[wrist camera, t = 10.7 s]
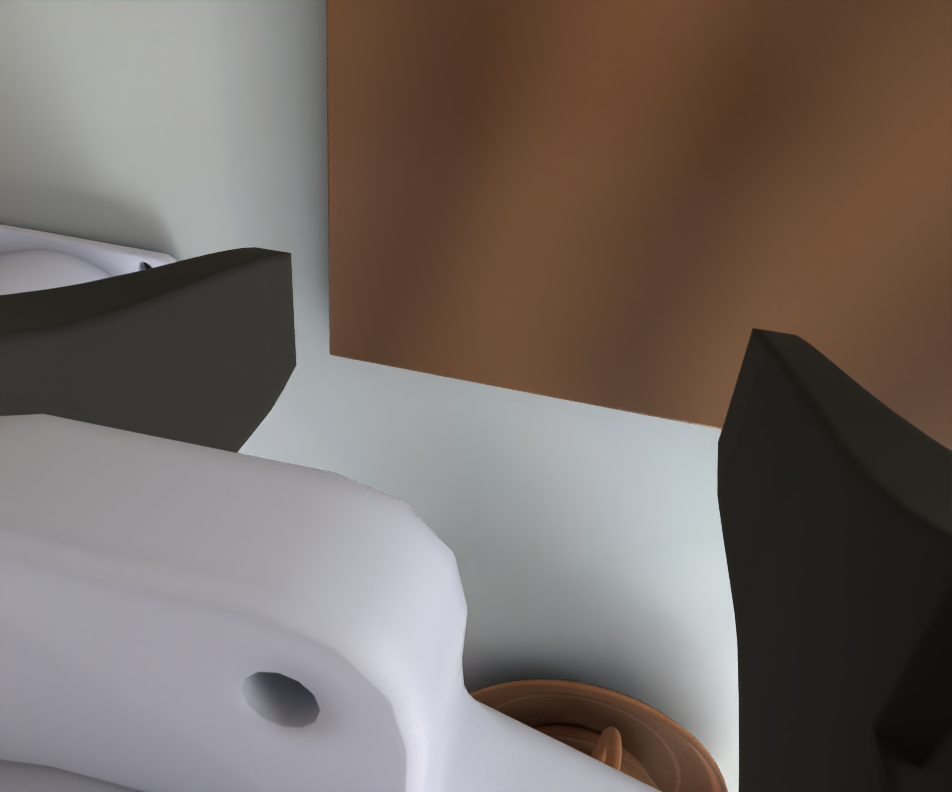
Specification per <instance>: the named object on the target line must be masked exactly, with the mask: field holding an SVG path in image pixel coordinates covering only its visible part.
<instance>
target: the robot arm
mask: <svg viewBox="0 0 952 792" xmlns="http://www.w3.org/2000/svg"><path fill="white" fill-rule="evenodd" d="M145 263H148V264H149V265H150V266H151V267H152V268H150V269H146V267H145ZM295 367H296V350H295V329H294V308H293V287H292V267H291V253H287V252H280V251H274V250H268V249H262V248H256V247H254V248H240V249H233V250H227V251H222V252H217V253H212V254H208V255H204V256H199V257H195V258H191V259H187V260H183V261H179V262H177V261H176V259H174V258H173V257H172V256H170V255H168V254H165V253H160V252H154V251H149V250H143V249H138V248H132V247H126V246H121V245H115V244H110V243H104V242H98V241H93V240H87V239H81V238H76V237H70V236H65V235H59V234H53V233H48V232H42V231H37V230H31V229H25V228H20V227H14V226H8V225H3V224H0V792H661V791H659V790H657V789H655V788H653V787H651V786H649V785H647V784H645V783H643V782H641V781H639V780H637V779H635V778H633V777H631V776H629V775H627V774H625V773H623V772H621V771H619V770H617V769H614V768H612V767H610V766H608V765H606V764H604V763H602V762H600V761H598V760H596V759H594V758H592V757H590V756H588V755H586V754H584V753H582V752H580V751H578V750H576V749H574V748H572V747H570V746H568V745H566V744H564V743H562V742H560V741H558V740H556V739H554V738H552V737H549V736H547V735H545V734H543V733H541V732H539V731H537V730H535V729H533V728H531V727H529V726H527V725H525V724H523V723H521V722H519V721H517V720H515V719H513V718H511V717H509V716H507V715H505V714H503V713H501V712H499V711H497V710H495V709H493V708H491V707H489V706H487V705H485V704H482V703H480V702H478V701H476V700H475V699H474V698H473V697H472V696H471V695H470V694H469V693H468V692H467V690H466V688H465V686H464V680H463V668H462V656H463V647H464V637H465V628H466V619H467V609H468V608H467V604H466V600H465V596H464V592H463V588H462V584H461V580H460V576H459V572H458V567H457V563H456V559H455V555H454V553H453V552H452V551H451V550H450V549H449V548H448V547H447V546H446V545H445V544H444V543H443V542H442V541H441V540H440V539H439V537H438V536H437V535H436V534H435V533H434V532H433V531H432V530H431V529H430V528H429V527H428V526H427V525H426V524H425V523H424V522H423V521H422V520H421V519H420V518H419V517H418V516H417V514H416V513H415V512H414V511H413V510H412V509H411V508H410V507H409V506H408V505H407V504H406V503H405V502H403V501H400V500H398V499H395V498H393V497H391V496H388V495H386V494H384V493H381V492H379V491H377V490H374V489H372V488H370V487H367V486H365V485H362V484H360V483H358V482H355V481H353V480H351V479H348V478H346V477H344V476H341V475H339V474H336V473H334V472H329V471H324V470H319V469H314V468H309V467H304V466H299V465H294V464H289V463H284V462H279V461H274V460H269V459H264V458H259V457H254V456H249V455H244V454H239V453H237V452H238V451H239V450H240V448H241V447H242V446H243V445H244V443H245V442H246V441H247V440H248V438H249V437H250V436H251V435H252V433H253V432H254V431H255V430H256V428H257V427H258V426H259V425H260V423H261V422H262V421H263V420H264V418H265V417H266V416H267V414H268V413H269V412H270V411H271V409H272V408H273V406H274V404H275V402H276V401H277V399H278V397H279V396H280V394H281V392H282V391H283V389H284V387H285V385H286V383H287V381H288V380H289V378H290V376H291V374H292V372H293V370H294V368H295ZM718 502H719V510H720V517H721V524H722V531H723V538H724V545H725V552H726V558H727V565H728V572H729V579H730V585H731V592H732V599H733V606H734V612H735V622H736V632H737V645H738V687H739V792H952V451H951V450H949V449H948V448H946V447H945V446H943V445H941V444H940V443H938V442H937V441H935V440H934V439H932V438H931V437H929V436H928V435H926V434H925V433H923V432H922V431H921V430H919V429H918V428H916V427H915V426H914V425H912V424H911V423H909V422H908V421H907V420H905V419H904V418H902V417H901V416H900V415H898V414H897V413H895V412H894V411H893V410H891V409H890V408H889V407H887V406H886V405H885V404H884V403H882V402H881V401H880V400H878V399H877V398H876V397H875V396H873V395H872V394H871V393H869V392H868V391H867V390H866V389H864V388H863V387H862V386H861V385H860V384H858V383H857V382H856V381H855V380H853V379H852V378H851V377H850V376H849V375H847V374H846V373H845V372H844V371H843V370H841V369H840V368H839V367H838V366H837V365H835V364H834V363H833V362H832V361H831V360H830V359H828V358H827V357H826V356H825V355H823V354H822V353H821V352H820V351H819V350H817V349H816V348H815V347H813V346H812V345H811V344H810V343H808V342H807V341H805V340H804V339H802V338H801V337H799V336H797V335H793V334H787V333H781V332H775V331H769V330H763V329H756V328H753V329H752V332H751V336H750V339H749V342H748V346H747V349H746V352H745V355H744V359H743V362H742V365H741V369H740V372H739V375H738V379H737V382H736V385H735V389H734V392H733V395H732V399H731V402H730V405H729V408H728V412H727V415H726V418H725V422H724V425H723V428H722V432H721V435H720V438H719V442H718Z"/></svg>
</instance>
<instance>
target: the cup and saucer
mask: <svg viewBox="0 0 952 792" xmlns="http://www.w3.org/2000/svg"><path fill="white" fill-rule="evenodd" d="M470 695H471V696H472V697H473V698H474V699H475V700H476V701H478V702H480V703H482V704H485V705H487V706H489V707H491V708H493V709H495V710H497V711H499V712H501V713H503V714H505V715H507V716H509V717H511V718H513V719H515V720H517V721H519V722H521V723H523V724H525V725H527V726H529V727H531V728H533V729H535V730H537V731H539V732H541V733H543V734H545V735H547V736H549V737H552V738H554V739H556V740H558V741H560V742H562V743H564V744H566V745H568V746H570V747H572V748H574V749H576V750H578V751H580V752H582V753H584V754H586V755H588V756H590V757H592V758H594V759H596V760H598V761H600V762H602V763H604V764H606V765H608V766H610V767H612V768H614V769H617V770H619V771H621V772H623V773H625V774H627V775H629V776H631V777H633V778H635V779H637V780H639V781H641V782H643V783H645V784H647V785H649V786H651V787H653V788H655V789H657V790H659V791H661V792H728V790H727V787H726V784H725V781H724V778H723V776H722V774H721V772H720V770H719V768H718V766H717V764H716V762H715V761H714V759H713V758H712V756H711V755H710V754H709V753H708V751H707V750H706V749H705V748H704V747H703V745H702V744H701V743H700V742H699V741H698V740H697V739H696V738H695V737H694V736H692V735H691V734H690V733H689V732H688V731H686V730H685V729H684V728H683V727H682V726H680V725H679V724H677V723H676V722H674V721H673V720H672V719H670V718H669V717H667V716H666V715H664V714H663V713H661V712H659V711H658V710H656V709H654V708H653V707H651V706H649V705H647V704H645V703H643V702H641V701H639V700H637V699H635V698H632V697H630V696H627V695H625V694H622V693H620V692H617V691H614V690H611V689H608V688H604V687H600V686H596V685H592V684H587V683H582V682H577V681H569V680H559V679H528V680H518V681H512V682H505V683H501V684H497V685H493V686H490V687H486V688H484V689H481V690H478V691H475V692H473V693H470Z"/></svg>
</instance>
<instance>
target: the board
mask: <svg viewBox="0 0 952 792" xmlns="http://www.w3.org/2000/svg"><path fill="white" fill-rule="evenodd" d="M326 18H327V121H328V225H329V329H330V354H331V355H334V356H340V357H345V358H350V359H355V360H361V361H366V362H371V363H376V364H382V365H387V366H392V367H397V368H403V369H408V370H413V371H418V372H423V373H429V374H434V375H439V376H444V377H450V378H455V379H460V380H465V381H471V382H476V383H481V384H486V385H491V386H497V387H502V388H507V389H512V390H518V391H523V392H528V393H533V394H539V395H544V396H549V397H554V398H560V399H565V400H570V401H575V402H580V403H586V404H591V405H596V406H601V407H607V408H612V409H617V410H622V411H628V412H633V413H638V414H643V415H649V416H654V417H659V418H664V419H669V420H675V421H680V422H685V423H690V424H696V425H701V426H706V427H711V428H717V429H722V428H723V425H724V422H725V418H726V415H727V412H728V408H729V405H730V402H731V399H732V395H733V392H734V389H735V385H736V382H737V379H738V375H739V372H740V369H741V365H742V362H743V359H744V355H745V352H746V349H747V346H748V342H749V339H750V336H751V332H752V329H753V328H756V329H763V330H769V331H775V332H781V333H787V334H793V335H797V336H799V337H801V338H802V339H804V340H805V341H807V342H808V343H810V344H811V345H812V346H813V347H815V348H816V349H817V350H819V351H820V352H821V353H822V354H823V355H825V356H826V357H827V358H828V359H830V360H831V361H832V362H833V363H834V364H835V365H837V366H838V367H839V368H840V369H841V370H843V371H844V372H845V373H846V374H847V375H849V376H850V377H851V378H852V379H853V380H855V381H856V382H857V383H858V384H860V385H861V386H862V387H863V388H864V389H866V390H867V391H868V392H869V393H871V394H872V395H873V396H875V397H876V398H877V399H878V400H880V401H881V402H882V403H884V404H885V405H886V406H887V407H889V408H890V409H891V410H893V411H894V412H895V413H897V414H898V415H900V416H901V417H902V418H904V419H905V420H907V421H908V422H909V423H911V424H912V425H914V426H915V427H916V428H918V429H919V430H921V431H922V432H923V433H925V434H926V435H928V436H929V437H931V438H932V439H934V440H935V441H937V442H938V443H940V444H941V445H943V446H945V447H946V448H948V449H949V450H951V451H952V0H326Z"/></svg>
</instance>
